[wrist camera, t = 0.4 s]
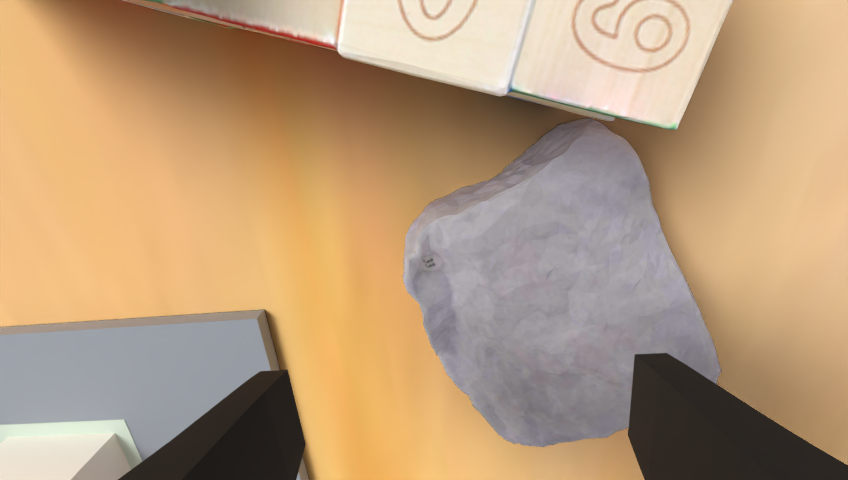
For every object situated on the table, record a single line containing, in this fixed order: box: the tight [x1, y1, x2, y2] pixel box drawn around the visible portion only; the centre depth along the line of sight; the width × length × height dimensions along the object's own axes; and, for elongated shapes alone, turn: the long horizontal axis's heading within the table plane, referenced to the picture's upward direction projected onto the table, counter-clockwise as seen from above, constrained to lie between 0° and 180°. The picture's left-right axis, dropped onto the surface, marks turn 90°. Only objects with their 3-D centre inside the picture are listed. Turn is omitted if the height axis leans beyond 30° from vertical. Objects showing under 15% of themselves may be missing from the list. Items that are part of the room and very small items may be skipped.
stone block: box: [403, 118, 721, 447], centre depth 17 cm, size 12×5×10 cm
